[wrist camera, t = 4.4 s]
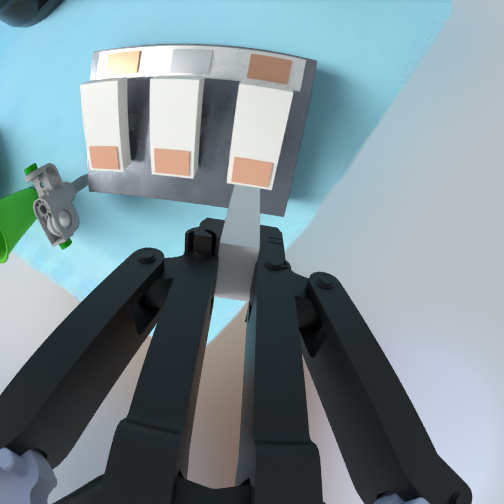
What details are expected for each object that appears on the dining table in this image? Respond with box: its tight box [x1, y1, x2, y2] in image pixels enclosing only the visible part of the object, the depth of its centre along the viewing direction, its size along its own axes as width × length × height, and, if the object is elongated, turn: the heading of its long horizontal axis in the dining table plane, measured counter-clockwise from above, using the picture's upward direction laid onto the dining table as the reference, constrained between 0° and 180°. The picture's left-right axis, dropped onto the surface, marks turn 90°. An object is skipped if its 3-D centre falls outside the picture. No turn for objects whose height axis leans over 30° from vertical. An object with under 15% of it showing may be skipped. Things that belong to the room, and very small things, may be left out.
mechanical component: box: [24, 163, 89, 250], centre depth 26 cm, size 3×10×10 cm, turn 15°
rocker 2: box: [150, 75, 205, 179], centre depth 21 cm, size 9×4×2 cm, turn 171°
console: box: [87, 44, 317, 217], centre depth 24 cm, size 16×22×6 cm
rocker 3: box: [227, 80, 293, 190], centre depth 21 cm, size 9×4×2 cm, turn 171°
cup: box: [0, 188, 39, 263], centre depth 28 cm, size 9×9×11 cm
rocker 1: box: [80, 77, 131, 172], centre depth 20 cm, size 9×4×2 cm, turn 171°
